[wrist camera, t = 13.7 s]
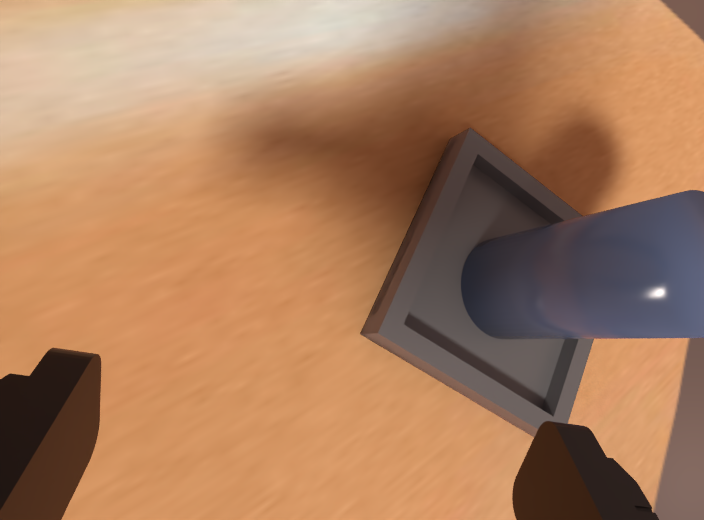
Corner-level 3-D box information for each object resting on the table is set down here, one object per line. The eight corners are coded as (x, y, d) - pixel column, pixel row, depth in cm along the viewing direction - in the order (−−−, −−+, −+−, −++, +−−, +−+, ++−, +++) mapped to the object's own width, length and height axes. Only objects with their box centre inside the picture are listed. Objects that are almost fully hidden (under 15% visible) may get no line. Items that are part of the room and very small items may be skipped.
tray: (360, 334, 28) (377, 333, 26) (450, 138, 32) (470, 127, 30) (536, 438, 32) (561, 443, 30) (597, 251, 36) (622, 247, 34)
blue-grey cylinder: (446, 308, 29) (638, 291, 19) (482, 219, 31) (675, 161, 21) (522, 357, 31) (733, 364, 21) (552, 270, 33) (761, 238, 23)
